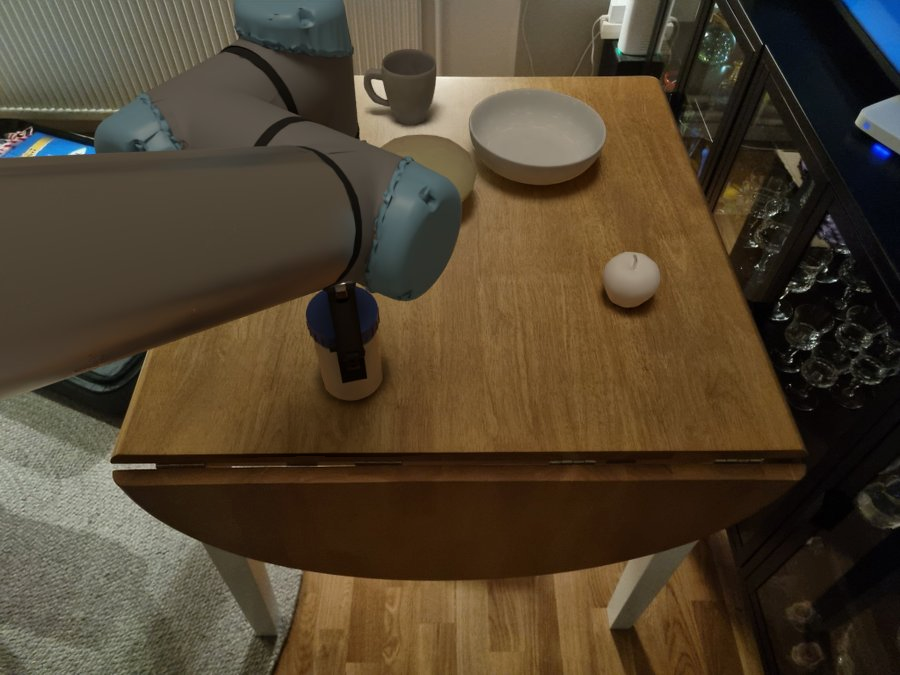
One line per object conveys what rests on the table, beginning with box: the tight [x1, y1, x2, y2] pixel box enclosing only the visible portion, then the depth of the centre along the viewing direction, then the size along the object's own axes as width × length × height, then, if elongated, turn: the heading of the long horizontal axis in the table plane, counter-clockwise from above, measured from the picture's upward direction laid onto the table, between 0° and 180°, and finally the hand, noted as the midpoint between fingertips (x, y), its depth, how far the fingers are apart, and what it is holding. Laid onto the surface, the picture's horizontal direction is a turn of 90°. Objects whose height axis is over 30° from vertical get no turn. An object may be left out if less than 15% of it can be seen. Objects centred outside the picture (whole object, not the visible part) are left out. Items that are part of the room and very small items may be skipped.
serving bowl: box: [468, 87, 608, 186], centre depth 101 cm, size 21×21×7 cm
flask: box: [379, 133, 478, 203], centre depth 92 cm, size 9×16×18 cm
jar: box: [312, 329, 384, 401], centre depth 72 cm, size 7×7×11 cm
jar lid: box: [305, 285, 381, 348], centre depth 68 cm, size 8×8×2 cm
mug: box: [363, 48, 437, 126], centre depth 107 cm, size 12×9×10 cm
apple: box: [602, 251, 661, 309], centre depth 82 cm, size 7×7×8 cm
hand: (348, 349), depth 72 cm, fingers closed on jar lid, 7 cm apart
